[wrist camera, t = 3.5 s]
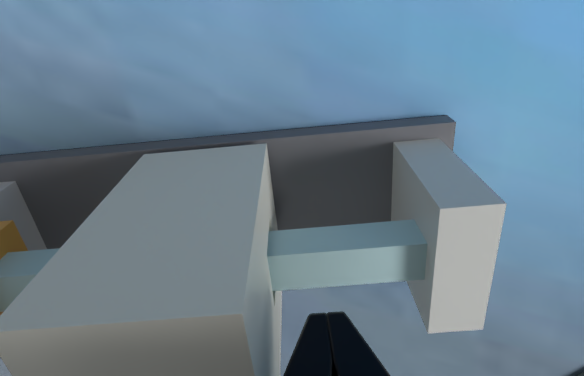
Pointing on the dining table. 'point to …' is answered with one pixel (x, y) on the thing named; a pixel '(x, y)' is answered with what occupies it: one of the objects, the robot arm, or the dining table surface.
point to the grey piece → (300, 211)
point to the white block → (159, 277)
